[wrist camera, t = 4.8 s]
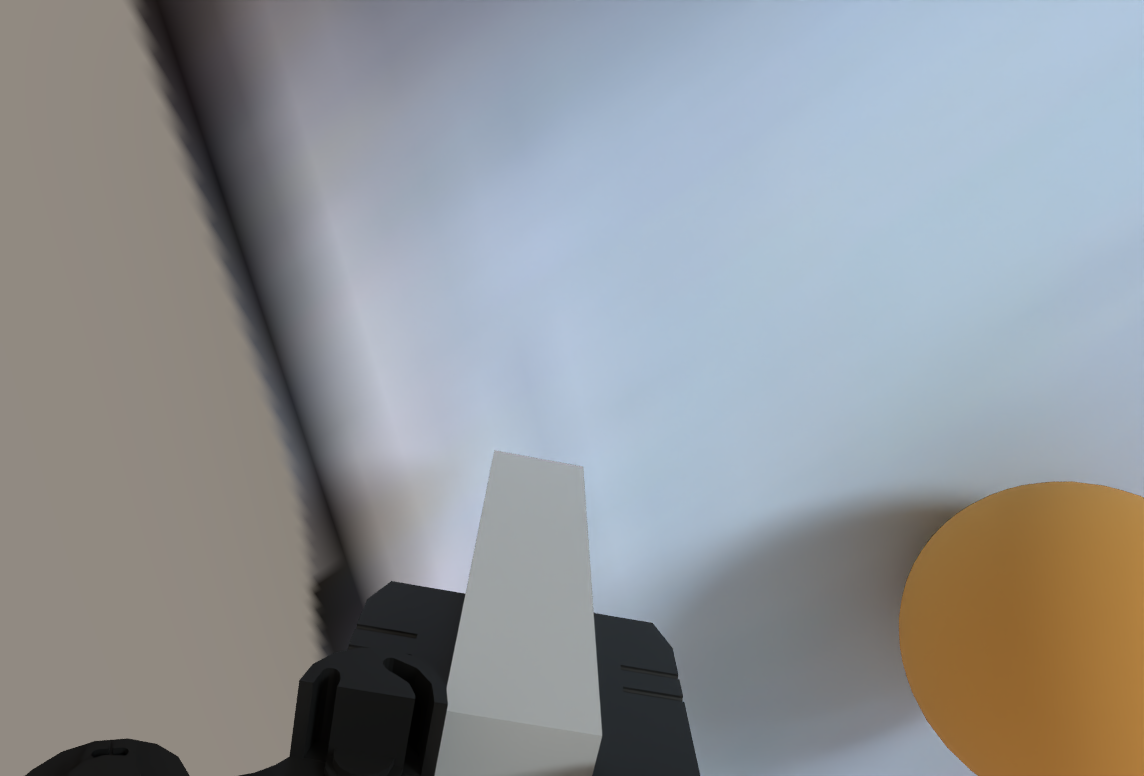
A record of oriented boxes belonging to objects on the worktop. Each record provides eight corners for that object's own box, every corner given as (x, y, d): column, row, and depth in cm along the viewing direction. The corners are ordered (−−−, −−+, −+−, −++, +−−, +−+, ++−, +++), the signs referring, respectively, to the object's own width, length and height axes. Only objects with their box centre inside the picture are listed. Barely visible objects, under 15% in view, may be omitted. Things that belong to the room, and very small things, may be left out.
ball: (1175, 464, 17) (1461, 621, 11) (1071, 700, 18) (1280, 934, 13) (905, 412, 16) (1072, 549, 11) (823, 658, 18) (934, 881, 12)
